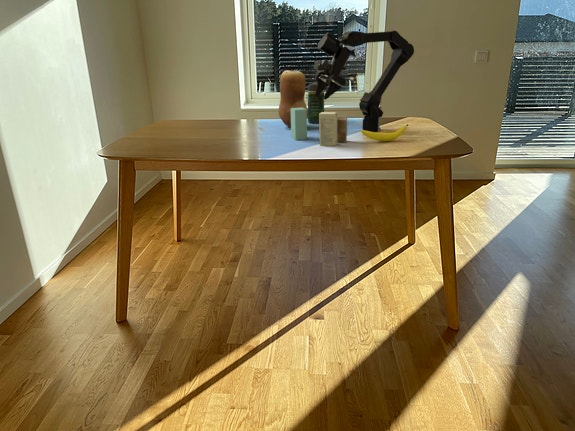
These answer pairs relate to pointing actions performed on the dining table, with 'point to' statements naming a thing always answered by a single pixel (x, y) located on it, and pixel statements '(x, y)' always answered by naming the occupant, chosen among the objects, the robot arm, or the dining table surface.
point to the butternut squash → (291, 94)
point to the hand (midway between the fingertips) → (320, 97)
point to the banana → (384, 135)
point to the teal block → (298, 123)
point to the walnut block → (341, 130)
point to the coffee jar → (314, 103)
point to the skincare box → (328, 128)
